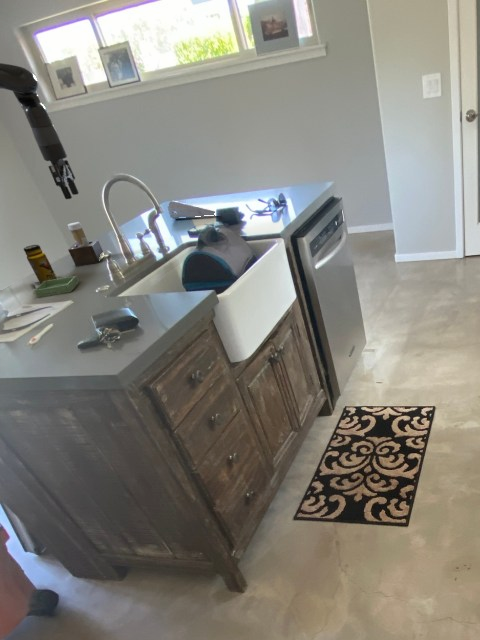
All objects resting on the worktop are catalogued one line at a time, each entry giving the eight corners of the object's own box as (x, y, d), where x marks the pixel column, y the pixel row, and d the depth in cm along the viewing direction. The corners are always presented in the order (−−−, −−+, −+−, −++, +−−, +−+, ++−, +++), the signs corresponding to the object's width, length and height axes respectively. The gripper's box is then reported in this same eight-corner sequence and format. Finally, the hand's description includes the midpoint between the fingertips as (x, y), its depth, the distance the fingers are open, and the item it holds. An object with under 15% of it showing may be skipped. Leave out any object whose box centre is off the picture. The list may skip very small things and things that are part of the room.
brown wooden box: (75, 266, 201) (67, 249, 197) (82, 259, 207) (74, 243, 203) (99, 262, 201) (91, 245, 197) (105, 255, 208) (98, 239, 204)
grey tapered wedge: (226, 201, 241) (175, 198, 245) (219, 205, 235) (166, 202, 238) (230, 220, 246) (179, 216, 250) (222, 224, 240) (171, 221, 243)
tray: (37, 297, 175) (33, 290, 173) (47, 287, 182) (43, 281, 181) (70, 291, 175) (67, 284, 174) (79, 282, 183) (76, 275, 181)
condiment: (60, 281, 187) (42, 245, 179) (36, 288, 183) (16, 252, 175) (57, 277, 191) (39, 242, 183) (33, 284, 188) (13, 248, 180)
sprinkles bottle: (82, 262, 204) (64, 225, 195) (91, 259, 206) (74, 221, 198) (90, 263, 202) (72, 225, 193) (99, 259, 205) (82, 221, 196)
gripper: (45, 142, 184) (68, 194, 195) (30, 146, 173) (55, 201, 184) (66, 139, 184) (88, 191, 195) (53, 143, 174) (77, 198, 184)
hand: (72, 196), depth 190 cm, fingers open, 8 cm apart
